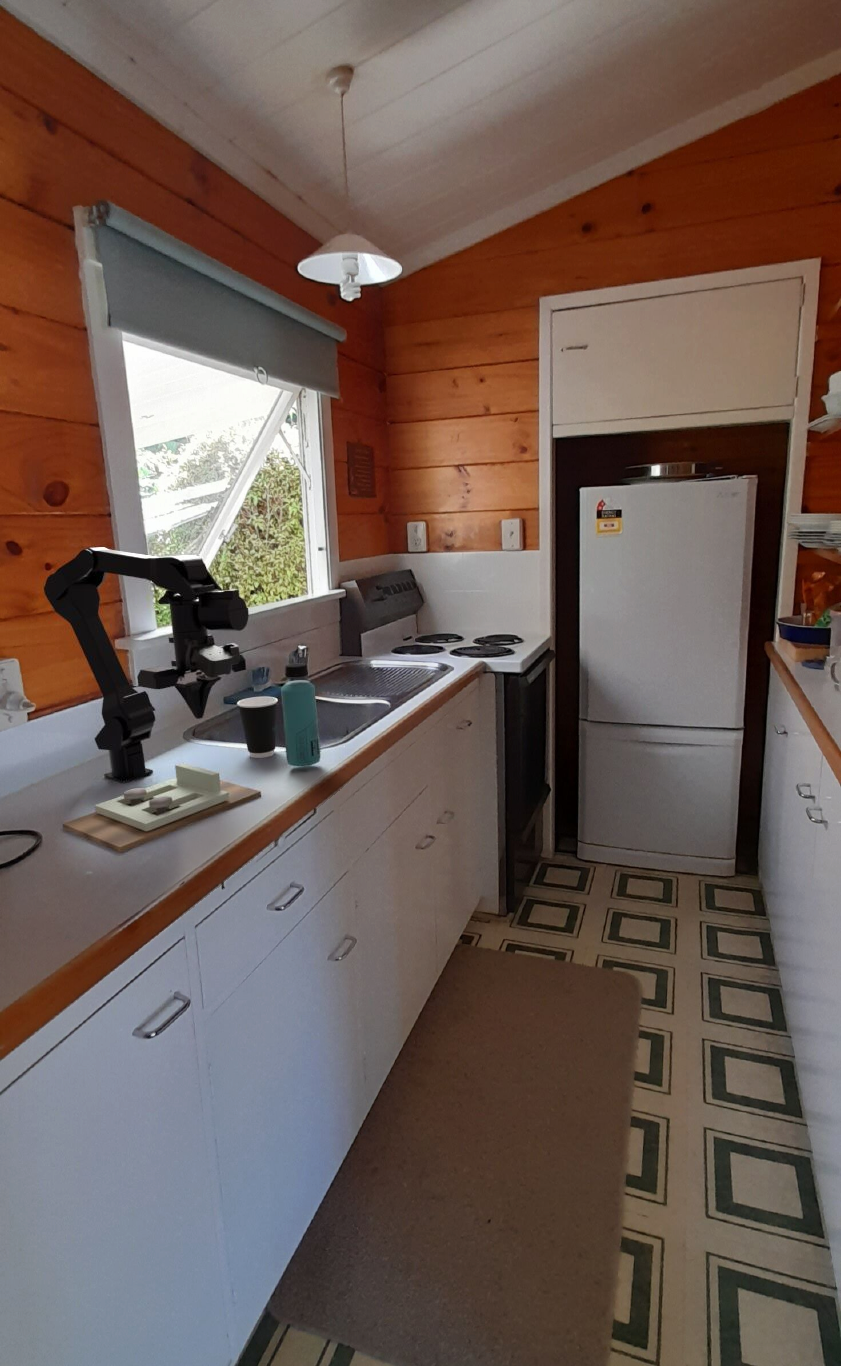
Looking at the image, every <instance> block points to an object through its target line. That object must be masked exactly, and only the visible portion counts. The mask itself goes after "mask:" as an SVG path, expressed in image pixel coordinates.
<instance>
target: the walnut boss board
mask: <svg viewBox="0 0 841 1366" xmlns="http://www.w3.org/2000/svg"><path fill="white" fill-rule="evenodd" d="M220 787H221V790H222V791H226V792H229V800H226V801H224V802H221V803H218V804H216V805H213V806H211V807H208V808H206V809H203V810H201V811H198V812H195V813H193V814H190V815H188V816H185V817H183V818H180V819H178V820H175V821H172V822H170V823H167V824H165V825H162V826H160V827H157V828H155V829H152V830H149V831H144V830H141V829H139V828H136V827H133V826H131V825H128V824H125V823H123V822H120V821H117V820H115V819H112V818H109V817H107V816H104V815H101V814H99V813H96V811H94V812H91V813H88V814H85V815H83V816H79V817H77V818H73V819H72V820H68V821H66V822H62V823H61V824H62V829H64V830H66V831H69V832H71V833H73V834H76V835H78V836H80V837H82V838H85V839H88V840H90V841H92V842H94V843H97V844H99V845H101V846H104V847H107V848H108V849H111V850H113V851H116V852H118V853H123V852H125V851H128V850H130V849H133V848H134V847H138V846H140V845H143V844H145V843H147V842H150V841H154V840H155V839H157V838H160V837H163V836H165V835H167V834H169V833H172V832H174V831H177V830H179V829H182V828H185V827H187V826H189V825H192V824H195V823H198V822H199V821H203V820H204V819H207V818H210V817H212V816H215V815H217V814H219V813H222V812H225V811H228V810H230V809H232V808H235V807H237V806H239V805H243V804H245V803H247V802H250V801H252V800H254V799H257V798H259V797H261V796H262V792H261V791H260V790H257V789H254V788H250V787H247V786H242V785H240V784H239V785H238V784H235V783H231V782H229V781H224V780H220ZM145 795H146V789H144V788H141V787H140V788H139V787H138V788H131V789H128V790H125V791H124V792H123V796H124V798H125V799H130V801H131V803H130V804H127V805H128V806H131V807H132V806H135V805H137V804H140V803H143V802H146V801H149V800H150V801H149V806H150V807H151V808H156V812H154V813H152V814H154V815H156V816H158V815H161V814H164V813H166V812H169V811H171V810H174V809H177V808H179V806H177V807H174V808H172V809H167V806H169V805H171V804H172V798H171V797H168V796H163V797H157V798H154V799H153V798H151V799H148V800H145V801H143V800H141V797H144V796H145Z"/></svg>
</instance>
